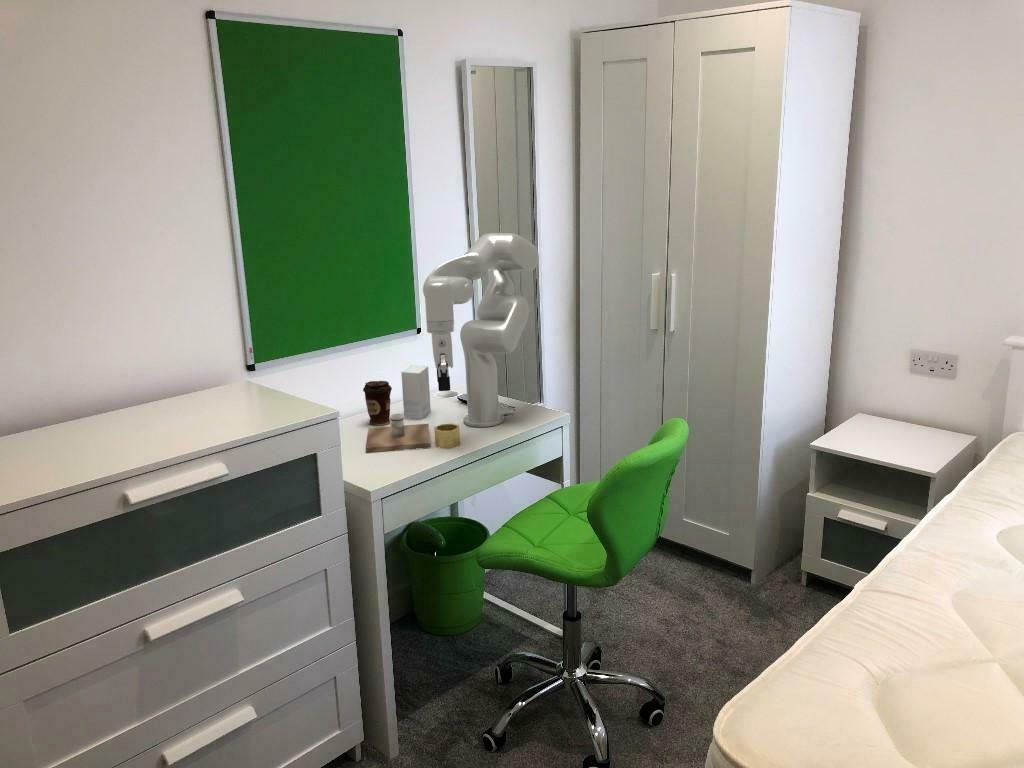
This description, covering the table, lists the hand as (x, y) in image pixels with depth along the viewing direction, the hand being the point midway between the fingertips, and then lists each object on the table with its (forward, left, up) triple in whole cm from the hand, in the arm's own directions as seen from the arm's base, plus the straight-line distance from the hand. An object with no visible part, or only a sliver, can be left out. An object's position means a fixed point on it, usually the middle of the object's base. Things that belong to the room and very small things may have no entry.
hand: (443, 386), depth 232 cm
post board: (+14, -7, -17) cm, 23 cm away
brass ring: (0, 0, -17) cm, 17 cm away
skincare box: (+8, -30, -18) cm, 36 cm away
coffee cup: (+20, -25, -17) cm, 37 cm away
